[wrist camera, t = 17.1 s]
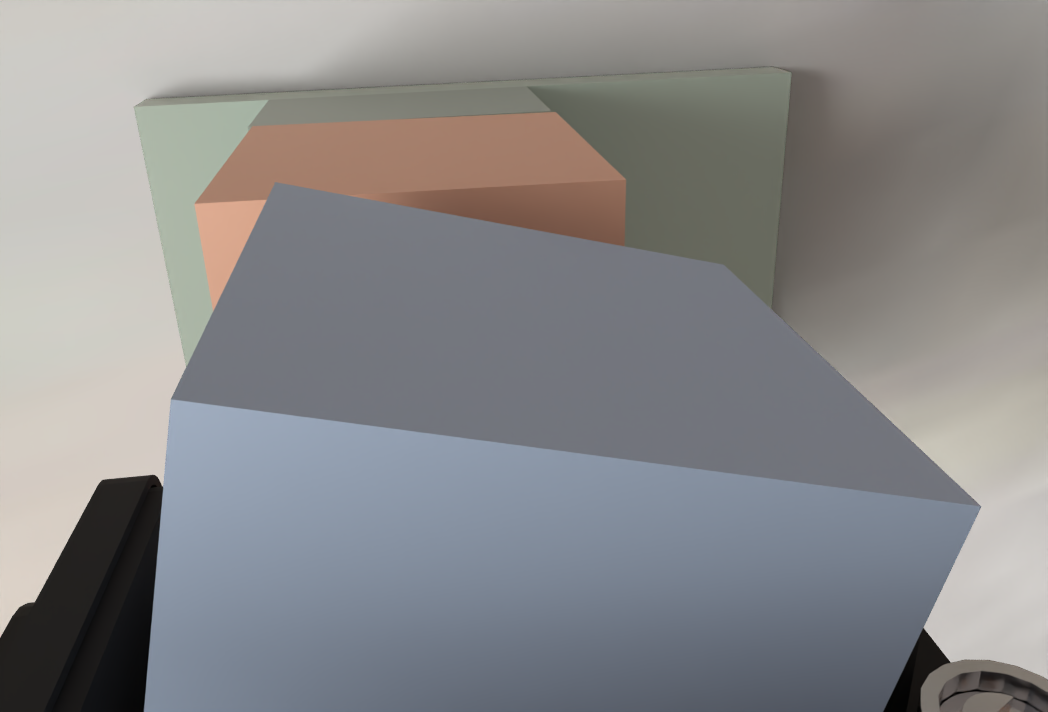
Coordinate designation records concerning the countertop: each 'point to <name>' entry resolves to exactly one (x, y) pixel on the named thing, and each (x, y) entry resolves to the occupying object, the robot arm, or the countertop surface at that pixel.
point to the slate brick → (525, 485)
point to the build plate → (618, 115)
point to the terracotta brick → (419, 176)
